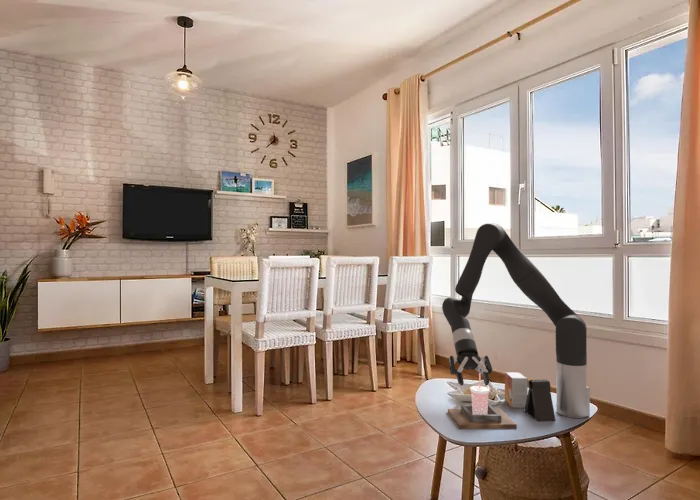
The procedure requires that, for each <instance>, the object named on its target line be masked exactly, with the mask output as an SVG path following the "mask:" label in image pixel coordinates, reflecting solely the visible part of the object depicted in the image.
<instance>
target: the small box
mask: <svg viewBox="0 0 700 500" xmlns="http://www.w3.org/2000/svg"><path fill="white" fill-rule="evenodd" d="M528 390H529V379H528V377H526V376H524V375H523V374H522V373H520V372H512V371H511V372H510V371H509V372H508V371H507V372H506V371H504V401H505V402H506V403H508V404H509V406H510V407H511V408H515V409H516V408H519V409H520V408H521V409H525V405H526V400H527V395H528Z"/></svg>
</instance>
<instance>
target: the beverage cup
mask: <svg viewBox="0 0 700 500" xmlns="http://www.w3.org/2000/svg"><path fill="white" fill-rule="evenodd" d="M481 375H482V374H481V373H480V372H478V385H472V386H470V387H469V390H470V392H471V394H470V395H471V405H472V412H473V415H487V412H488V405H489V393H490V388H489V387H488V386H485V385H482V383H481V382H482V381H481V380H482V379H481V378H482V377H481Z"/></svg>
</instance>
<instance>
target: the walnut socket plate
mask: <svg viewBox="0 0 700 500" xmlns="http://www.w3.org/2000/svg"><path fill="white" fill-rule="evenodd" d="M447 414H448V415H449V417H450V418H451V419H452V421H453V422H454V423H455V425H456V427H458V429H459V430H461V429H462V430H463V429H465V430H466V429H469V430H470V429H471V430H473V429H475V430H477V429H478V430H479V429H480V430H481V429H482V430H483V429H517V428H518V427H517V425H518V424H517V423H516V422H515V421H514V420H513V419H511V418H510V417H509V416H508V415H507V414H506V413H505V412H504V411H503V410H502V409H501V408H494V406H492V405H491V404H488V412H487V415H473V412H472V404H460V408H447Z"/></svg>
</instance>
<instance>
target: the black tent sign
mask: <svg viewBox="0 0 700 500" xmlns="http://www.w3.org/2000/svg"><path fill="white" fill-rule="evenodd" d="M554 409H555V408H554V405H553V398H552V393H551V382H550V380H548V379H529V380H528V393H527V400H526V405H525V408H524V412H525V413H526V414H527V415H529V416H530V417H531V418H532V419H534V420H535V421H536V422H553V421H554V422H555V421H556V416H555V410H554Z"/></svg>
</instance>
